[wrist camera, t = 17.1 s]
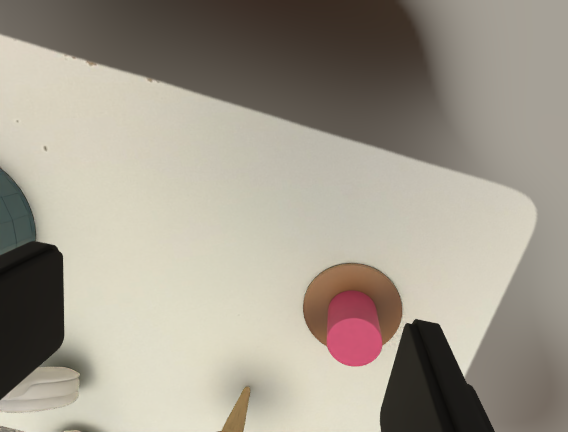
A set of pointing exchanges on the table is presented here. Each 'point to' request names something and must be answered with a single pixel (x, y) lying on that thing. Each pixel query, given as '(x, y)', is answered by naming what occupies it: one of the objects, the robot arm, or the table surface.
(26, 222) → the bowl
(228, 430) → the ice cream cone
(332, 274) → the coaster
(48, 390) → the headphones
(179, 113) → the table surface
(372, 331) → the pink cylinder block
